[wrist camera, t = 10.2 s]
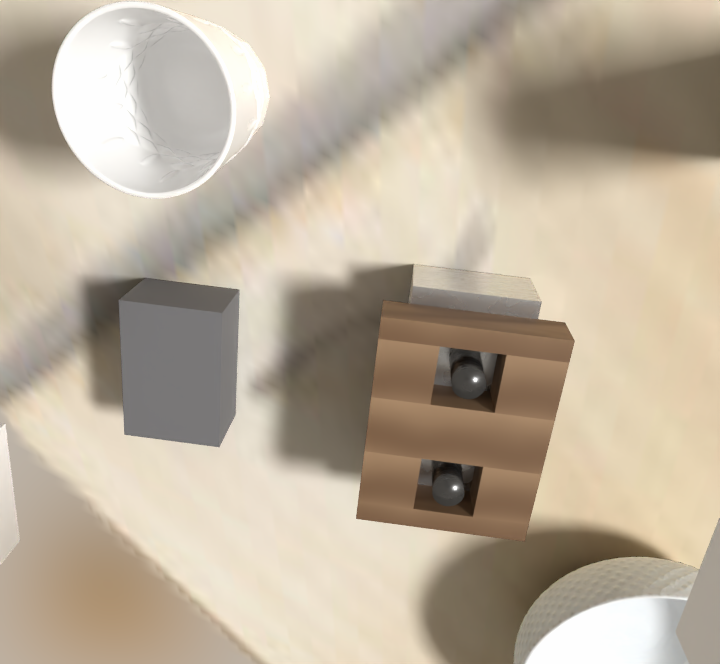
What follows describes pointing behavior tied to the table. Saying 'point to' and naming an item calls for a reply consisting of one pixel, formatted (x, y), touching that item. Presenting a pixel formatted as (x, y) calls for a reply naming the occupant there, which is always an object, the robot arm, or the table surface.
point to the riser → (179, 361)
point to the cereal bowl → (609, 615)
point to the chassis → (462, 366)
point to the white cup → (156, 97)
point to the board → (461, 418)
